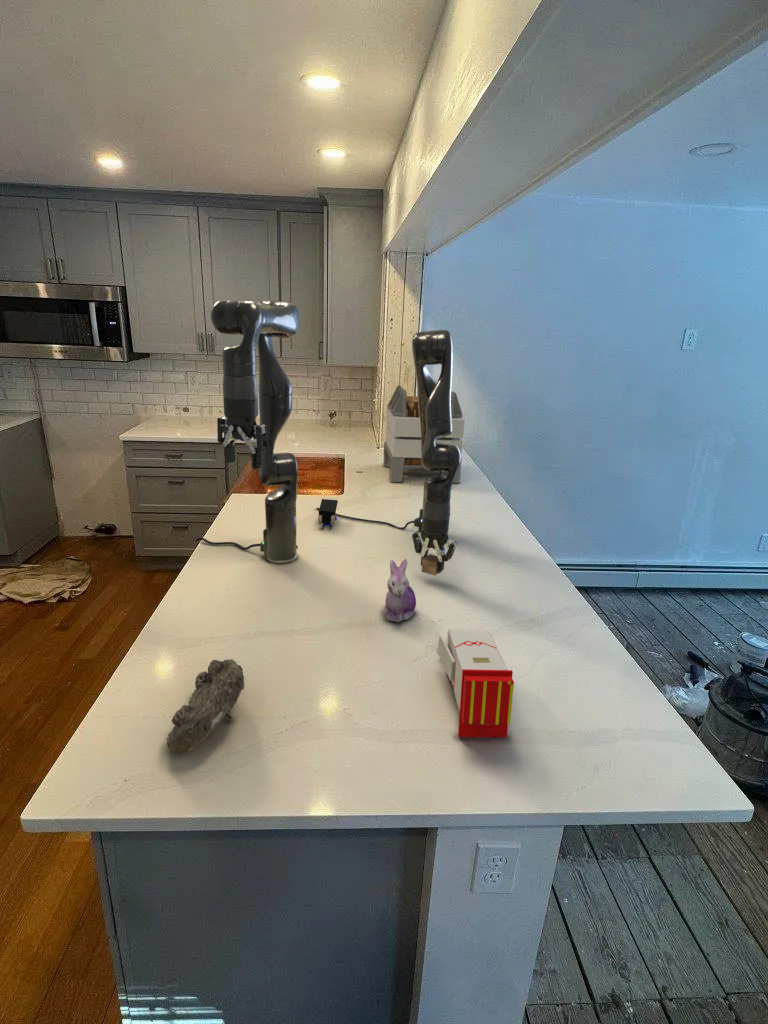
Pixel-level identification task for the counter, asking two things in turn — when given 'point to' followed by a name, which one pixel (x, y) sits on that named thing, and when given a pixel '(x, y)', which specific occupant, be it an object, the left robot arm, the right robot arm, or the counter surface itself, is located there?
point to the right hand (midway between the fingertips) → (432, 569)
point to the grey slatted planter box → (413, 433)
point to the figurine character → (327, 513)
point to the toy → (478, 682)
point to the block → (430, 564)
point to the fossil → (206, 705)
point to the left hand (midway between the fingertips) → (243, 465)
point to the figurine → (399, 594)
